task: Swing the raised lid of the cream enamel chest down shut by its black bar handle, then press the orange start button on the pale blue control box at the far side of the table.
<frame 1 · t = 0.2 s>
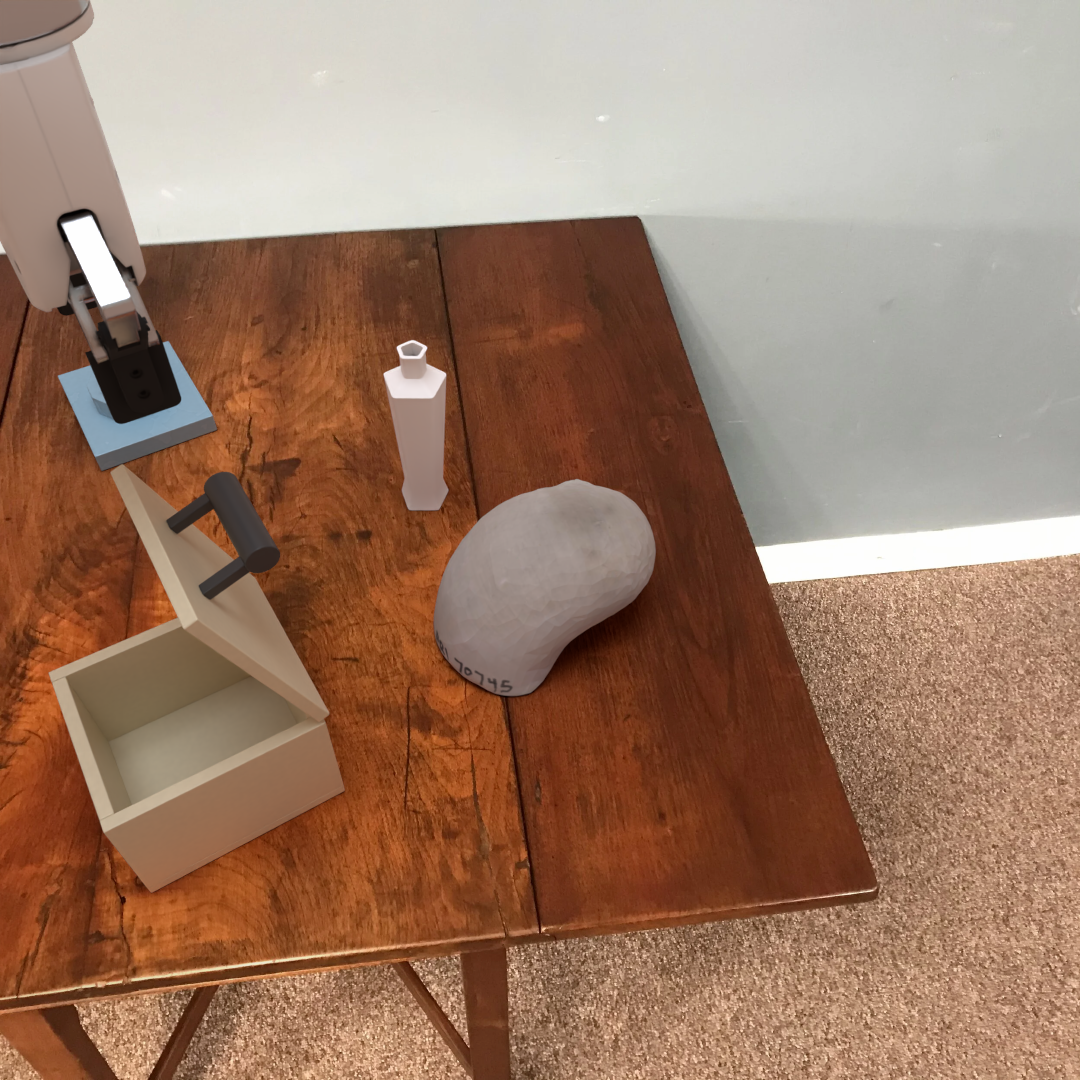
hand: (118, 355, 47), 26 cm above the table, tool pointing down, fingers open, 9 cm apart
grey rounded lump: (541, 610, 71), on the table
chest: (219, 767, 61), on the table
start button: (125, 374, 80), point 4 cm above the table, slide at 0.1 cm
perfume bottle: (425, 495, 78), on the table
control box: (139, 409, 83), on the table
lid: (257, 576, 51), point 16 cm above the table, hinge at 70.0°
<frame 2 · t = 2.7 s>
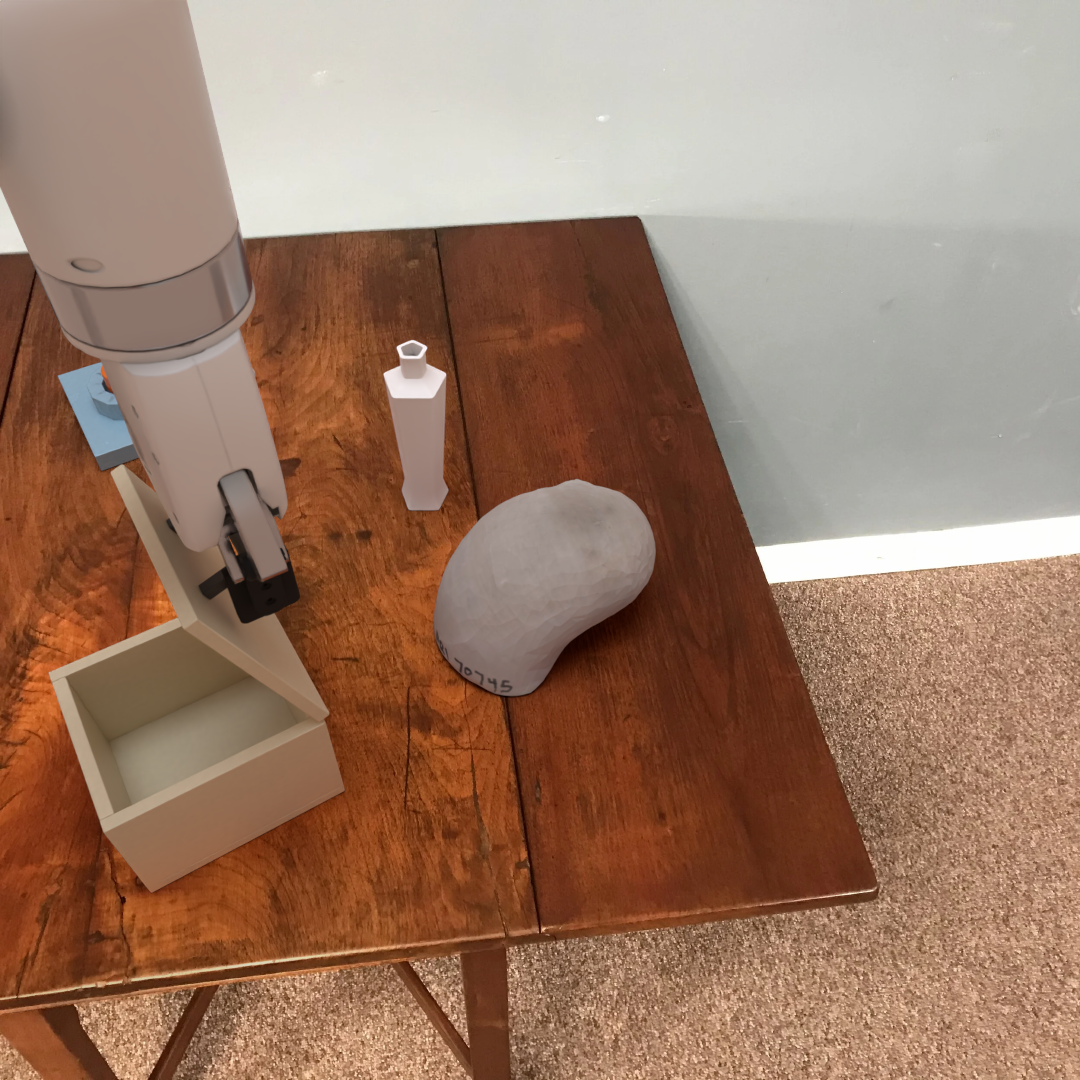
hand: (245, 562, 50), 18 cm above the table, tool pointing down, fingers closed on lid, 6 cm apart
lid: (257, 576, 51), point 16 cm above the table, hinge at 70.0°, touching gripper
everything else where it was.
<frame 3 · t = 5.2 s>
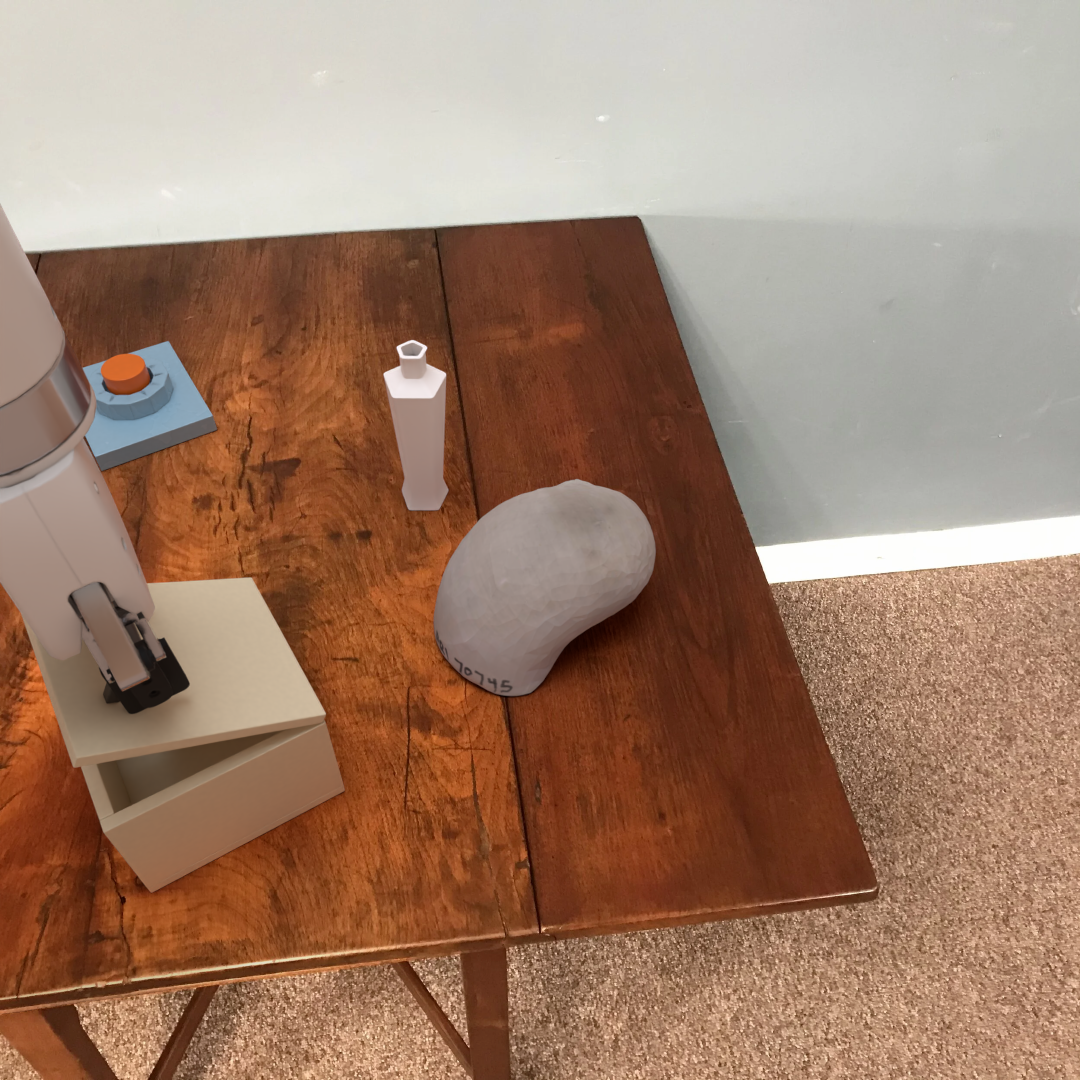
hand: (138, 647, 50), 15 cm above the table, tool pointing down, fingers closed on lid, 6 cm apart
lid: (184, 632, 51), point 14 cm above the table, hinge at 28.8°, touching gripper
everything else where it was.
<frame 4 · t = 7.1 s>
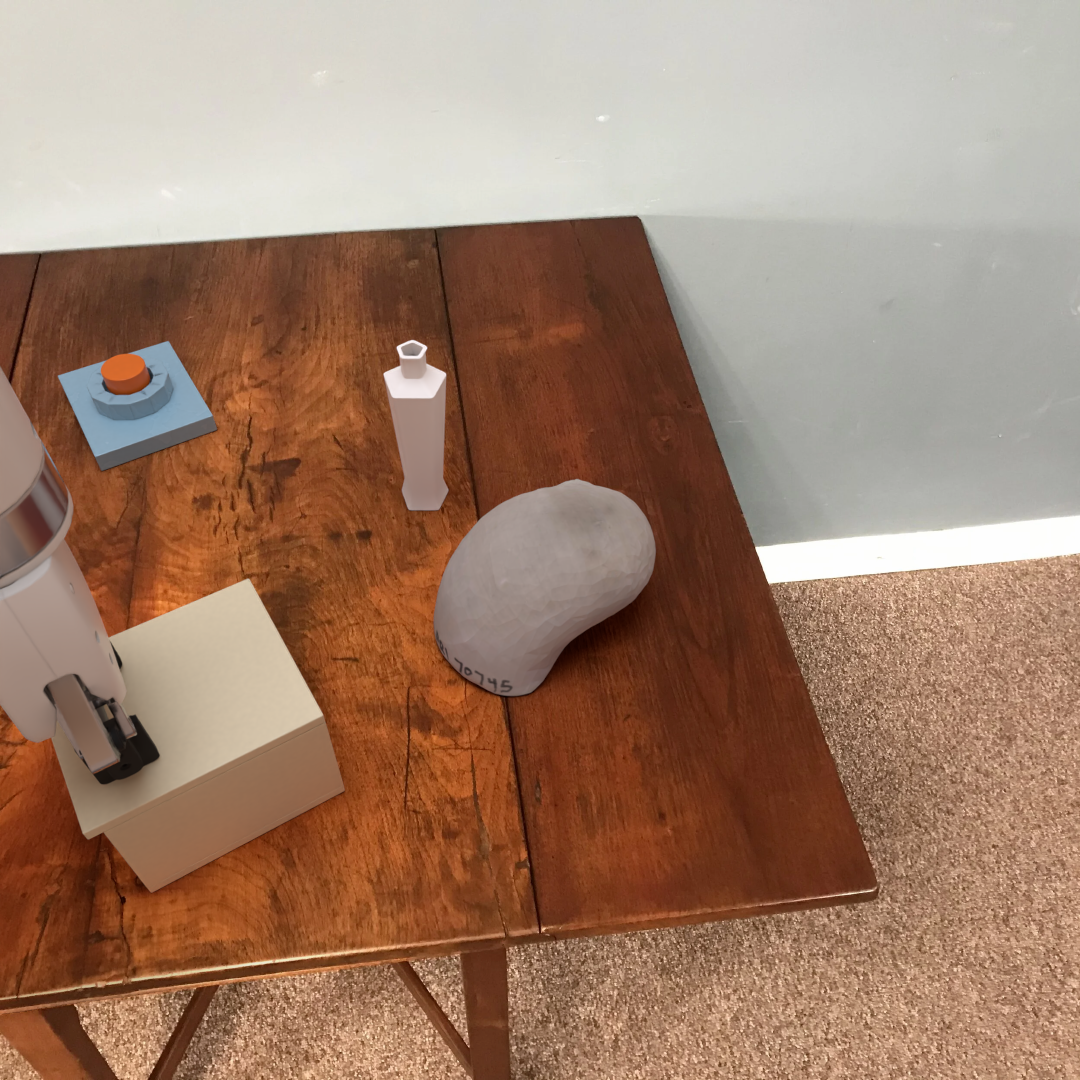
hand: (111, 718, 52), 10 cm above the table, tool pointing down, fingers closed on lid, 6 cm apart
lid: (166, 676, 53), point 11 cm above the table, hinge at -0.2°, touching gripper
everything else where it was.
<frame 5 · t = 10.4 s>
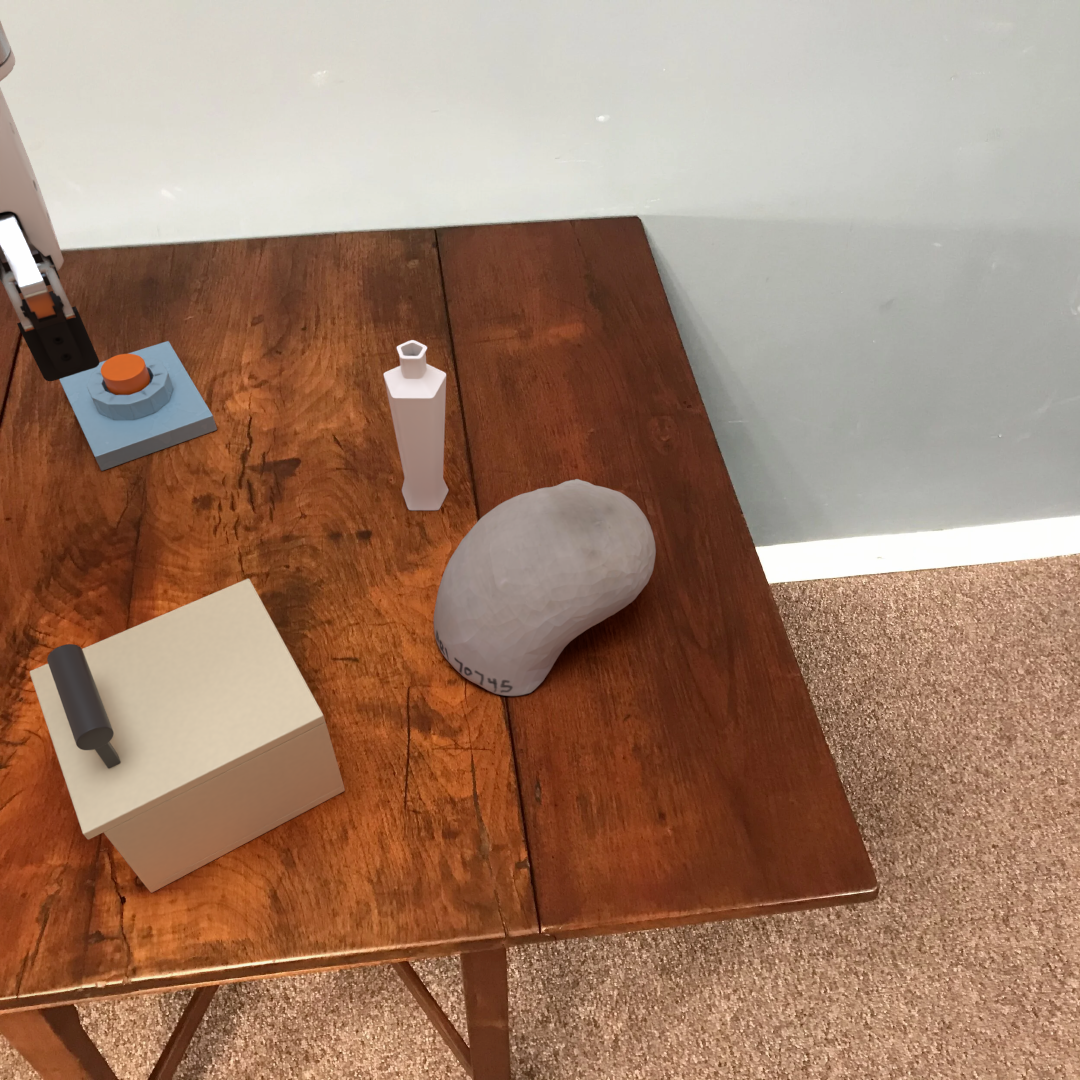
hand: (53, 327, 59), 20 cm above the table, tool pointing down, fingers open, 9 cm apart
lid: (166, 676, 53), point 11 cm above the table, hinge at -0.2°, touching chest
everything else where it was.
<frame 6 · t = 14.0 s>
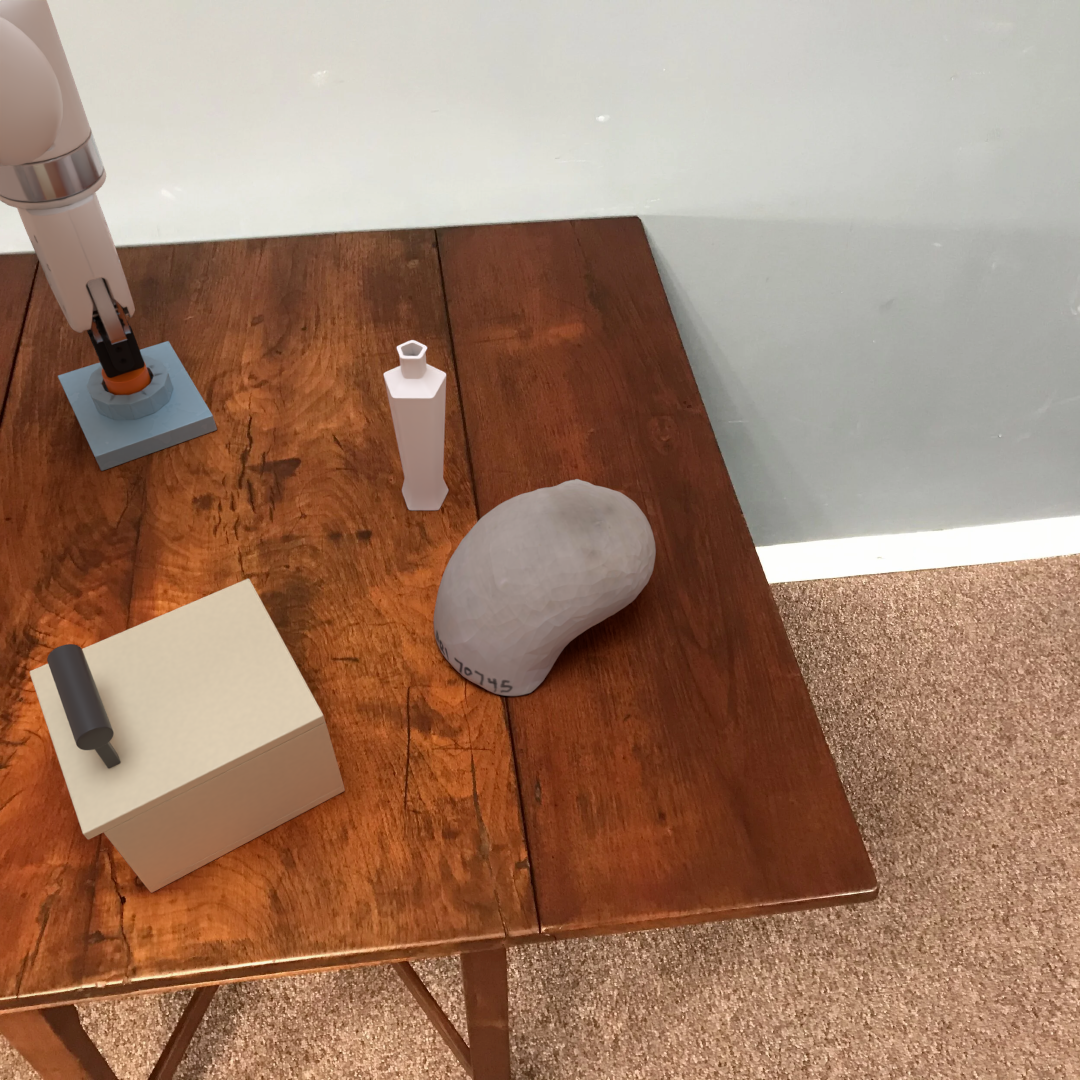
hand: (124, 367, 80), 5 cm above the table, tool pointing down, fingers closed
start button: (126, 376, 81), point 4 cm above the table, slide at -0.1 cm, touching gripper
everything else where it was.
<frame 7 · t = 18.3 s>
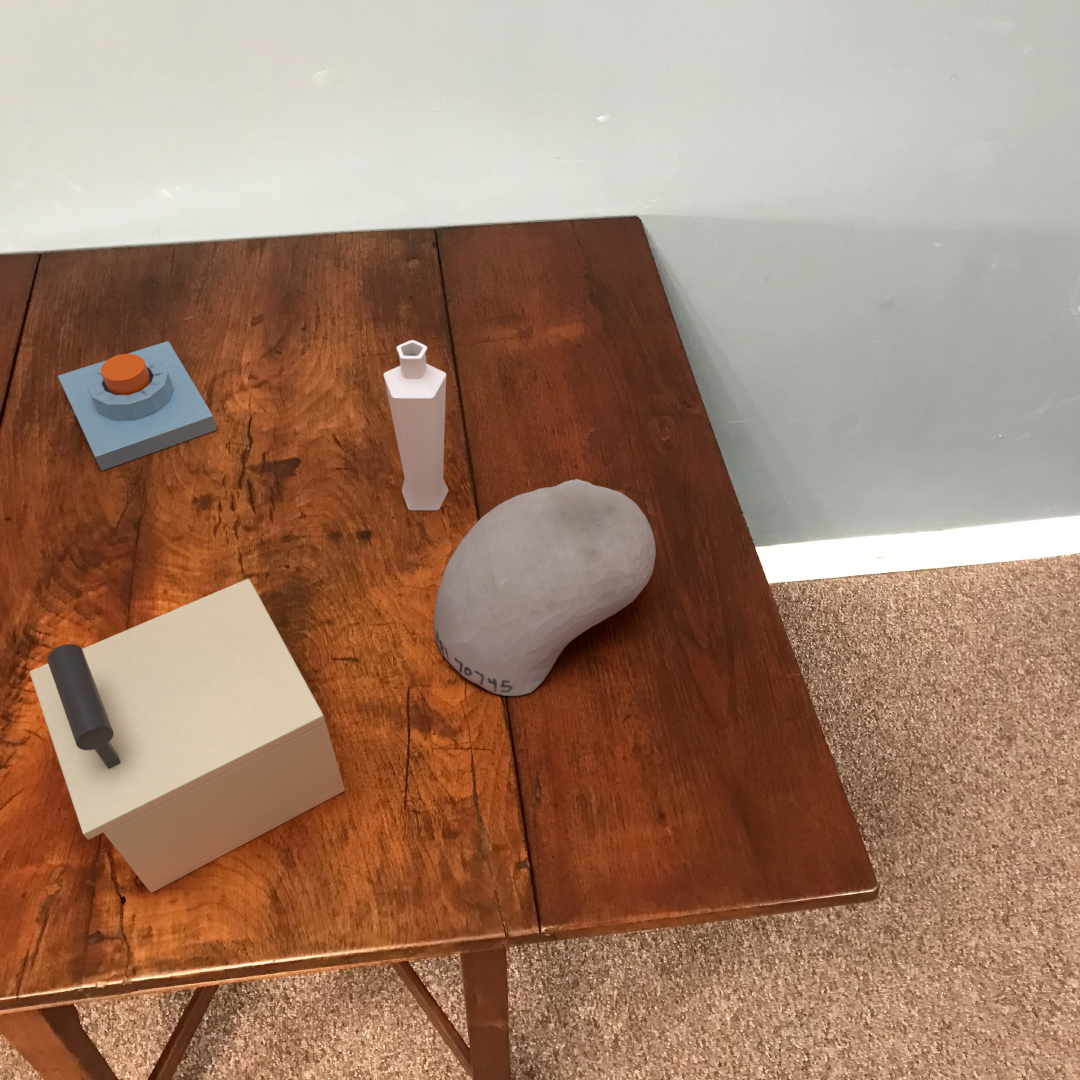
start button: (125, 374, 80), point 4 cm above the table, slide at 0.1 cm
everything else where it was.
at the end: lid at +0° (first picture: +70°); start button pushed in 1.0 cm at the most during the clip, back to where it started at the end; start button slide at 0.1 cm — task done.
